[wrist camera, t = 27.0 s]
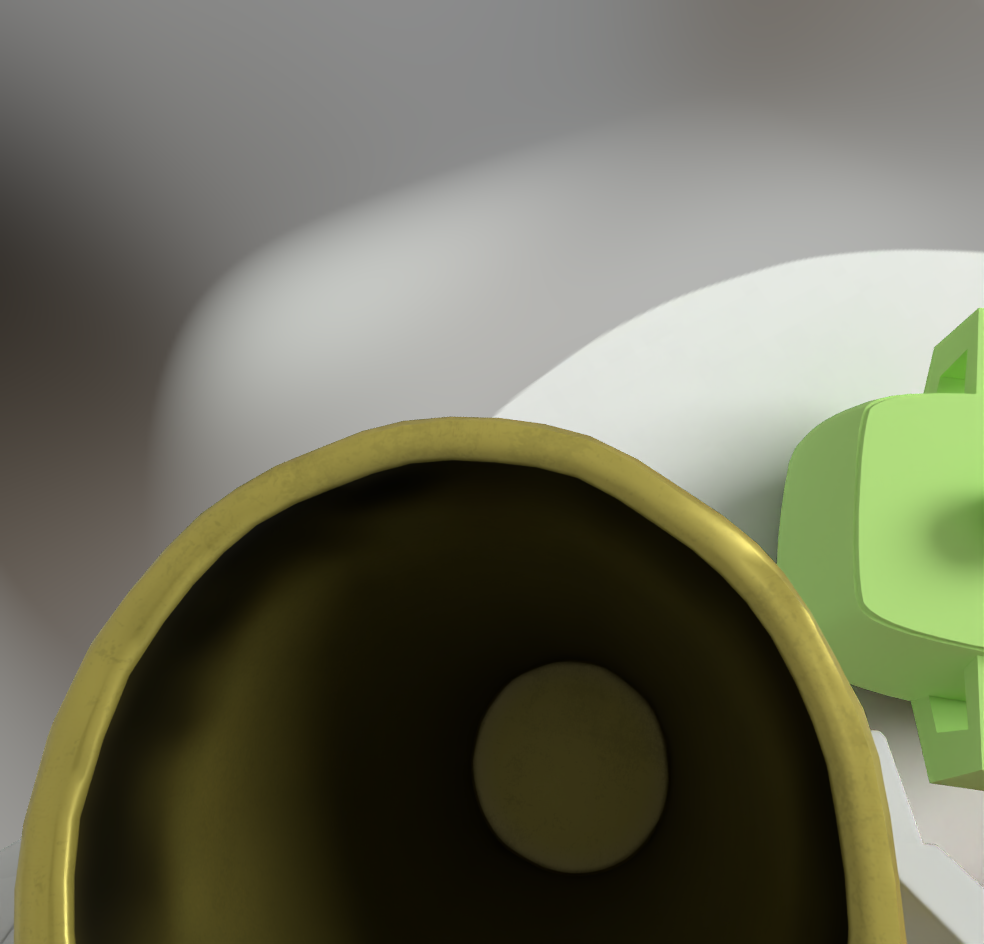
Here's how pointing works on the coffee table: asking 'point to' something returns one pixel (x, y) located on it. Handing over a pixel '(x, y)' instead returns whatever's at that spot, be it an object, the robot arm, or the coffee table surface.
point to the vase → (460, 720)
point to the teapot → (902, 549)
